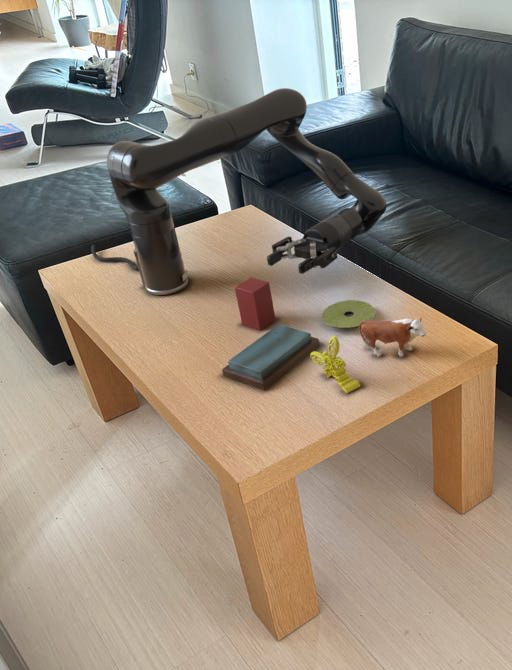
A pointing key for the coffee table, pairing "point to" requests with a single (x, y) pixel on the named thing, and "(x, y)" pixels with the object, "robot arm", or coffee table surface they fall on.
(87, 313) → the coffee table surface
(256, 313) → the pillar block
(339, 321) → the mat
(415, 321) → the bull figurine
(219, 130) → the robot arm
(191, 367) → the coffee table surface
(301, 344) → the blue-grey flat block
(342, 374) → the decorative insect
